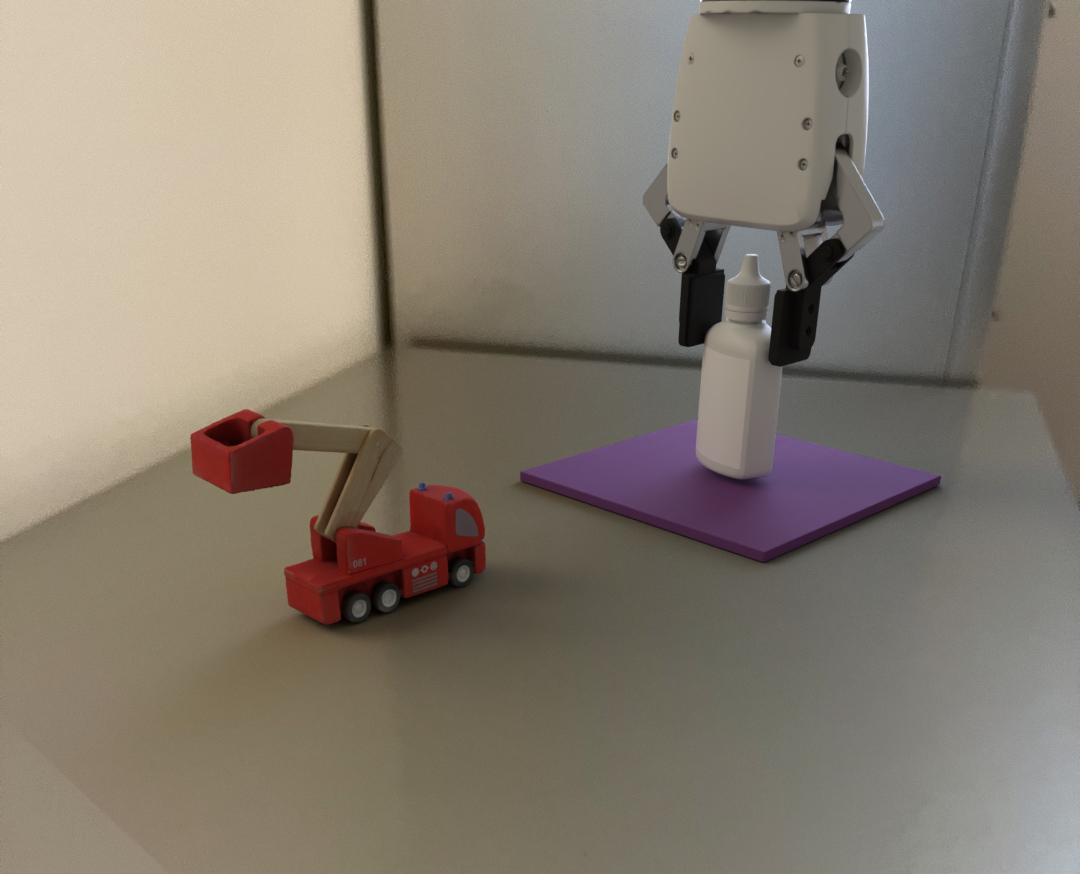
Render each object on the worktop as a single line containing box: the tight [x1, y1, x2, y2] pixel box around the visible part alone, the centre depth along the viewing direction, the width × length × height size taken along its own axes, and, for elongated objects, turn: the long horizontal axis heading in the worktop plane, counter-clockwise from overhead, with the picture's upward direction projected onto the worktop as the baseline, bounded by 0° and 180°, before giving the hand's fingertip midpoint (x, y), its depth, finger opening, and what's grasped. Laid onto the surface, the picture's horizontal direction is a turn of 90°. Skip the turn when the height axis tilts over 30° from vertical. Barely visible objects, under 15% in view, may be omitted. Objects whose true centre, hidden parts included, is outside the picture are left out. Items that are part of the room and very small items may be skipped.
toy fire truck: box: [189, 408, 487, 626], centre depth 54 cm, size 3×14×10 cm, turn 133°
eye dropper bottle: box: [696, 253, 784, 479], centre depth 69 cm, size 4×6×12 cm
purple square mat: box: [519, 417, 942, 563], centre depth 72 cm, size 18×18×1 cm
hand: (743, 349), depth 68 cm, fingers closed on eye dropper bottle, 5 cm apart
